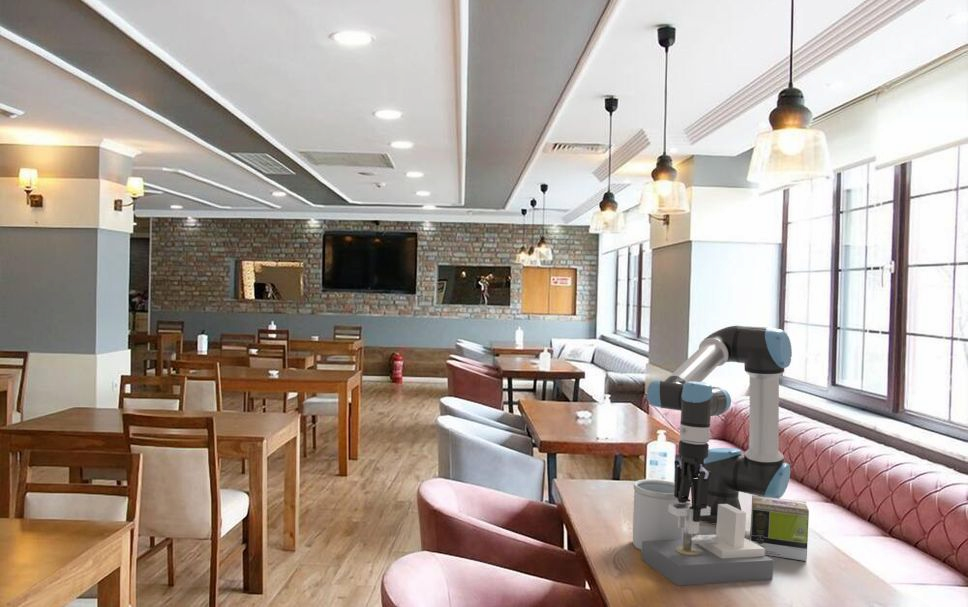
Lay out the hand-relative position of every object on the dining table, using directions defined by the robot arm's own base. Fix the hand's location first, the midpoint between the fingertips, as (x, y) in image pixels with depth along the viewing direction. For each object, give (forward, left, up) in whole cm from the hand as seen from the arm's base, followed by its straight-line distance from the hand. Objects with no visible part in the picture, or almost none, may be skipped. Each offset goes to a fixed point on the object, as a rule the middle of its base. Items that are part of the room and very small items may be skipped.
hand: (688, 530), depth 193 cm
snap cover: (-13, 0, -6) cm, 14 cm away
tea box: (-36, -9, -11) cm, 39 cm away
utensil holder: (-2, -18, -11) cm, 21 cm away
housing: (-6, 0, -11) cm, 12 cm away
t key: (-2, 0, -5) cm, 5 cm away
